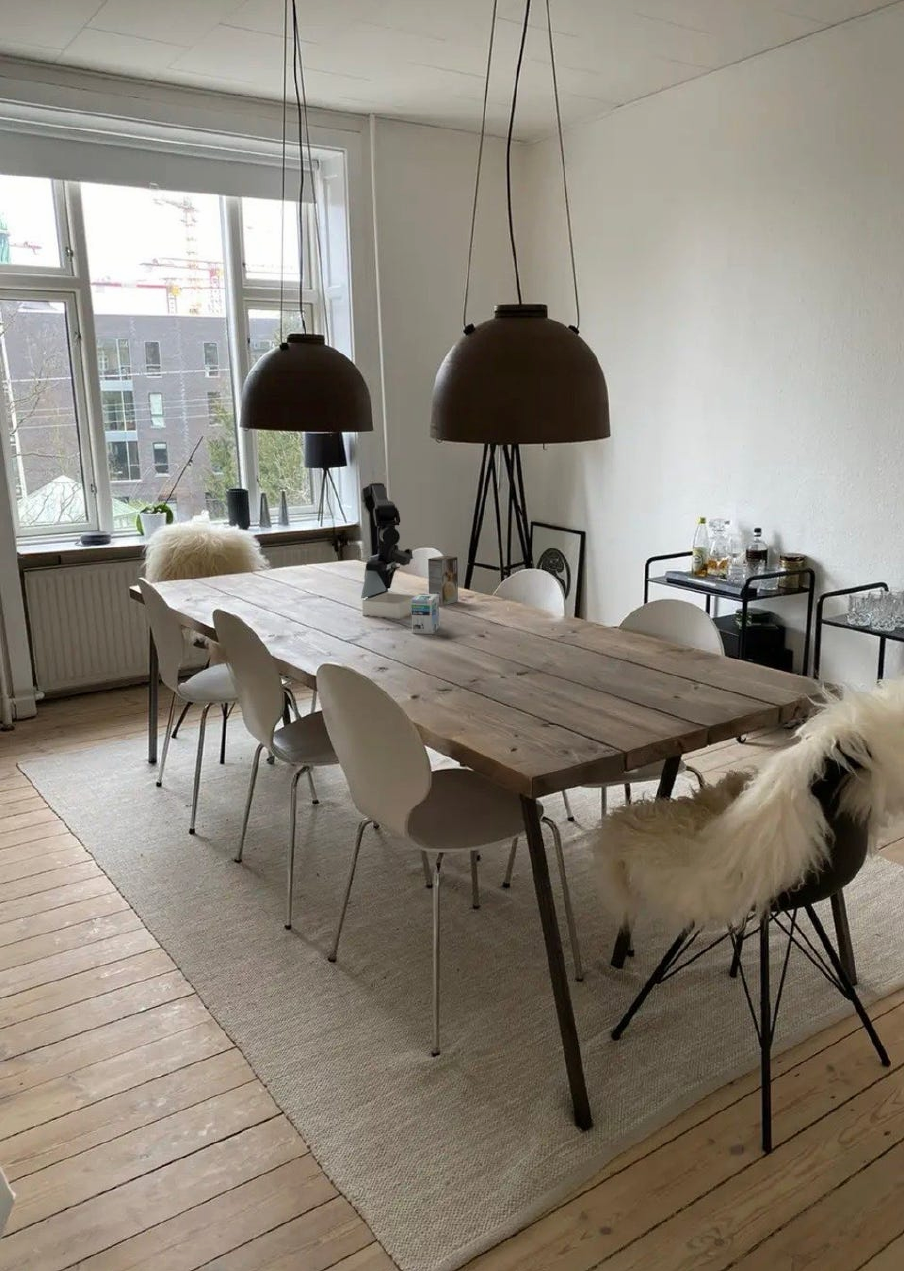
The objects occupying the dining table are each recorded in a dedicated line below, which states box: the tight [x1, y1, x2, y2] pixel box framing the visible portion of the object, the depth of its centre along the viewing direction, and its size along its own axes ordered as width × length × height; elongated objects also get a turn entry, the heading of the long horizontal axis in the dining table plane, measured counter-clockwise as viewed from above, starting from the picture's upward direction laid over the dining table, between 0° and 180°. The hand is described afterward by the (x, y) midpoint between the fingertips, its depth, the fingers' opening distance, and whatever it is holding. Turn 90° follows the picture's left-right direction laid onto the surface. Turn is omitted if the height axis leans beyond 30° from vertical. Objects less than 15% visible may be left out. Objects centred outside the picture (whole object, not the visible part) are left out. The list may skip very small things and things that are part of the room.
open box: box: [361, 591, 418, 620], centre depth 331 cm, size 14×16×5 cm
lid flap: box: [360, 554, 386, 600], centre depth 331 cm, size 15×15×1 cm
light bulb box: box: [411, 592, 440, 635], centre depth 305 cm, size 11×7×11 cm, turn 168°
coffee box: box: [427, 555, 459, 607], centre depth 345 cm, size 9×6×16 cm
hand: (388, 588), depth 330 cm, fingers closed, pressing on lid flap
